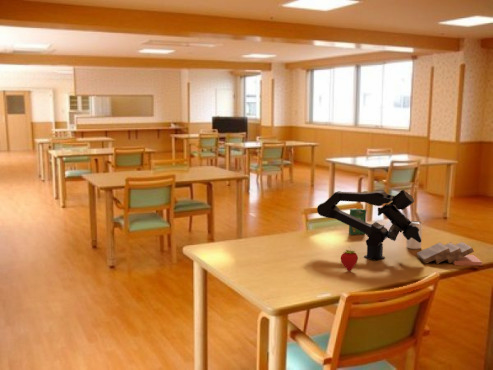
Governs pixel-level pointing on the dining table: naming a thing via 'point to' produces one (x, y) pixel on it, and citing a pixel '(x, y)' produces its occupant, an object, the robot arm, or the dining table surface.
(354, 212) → the coffee box
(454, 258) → the tile
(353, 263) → the strawberry
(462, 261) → the tile
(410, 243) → the can
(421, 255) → the tile
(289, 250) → the dining table surface
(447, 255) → the tile
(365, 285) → the dining table surface
